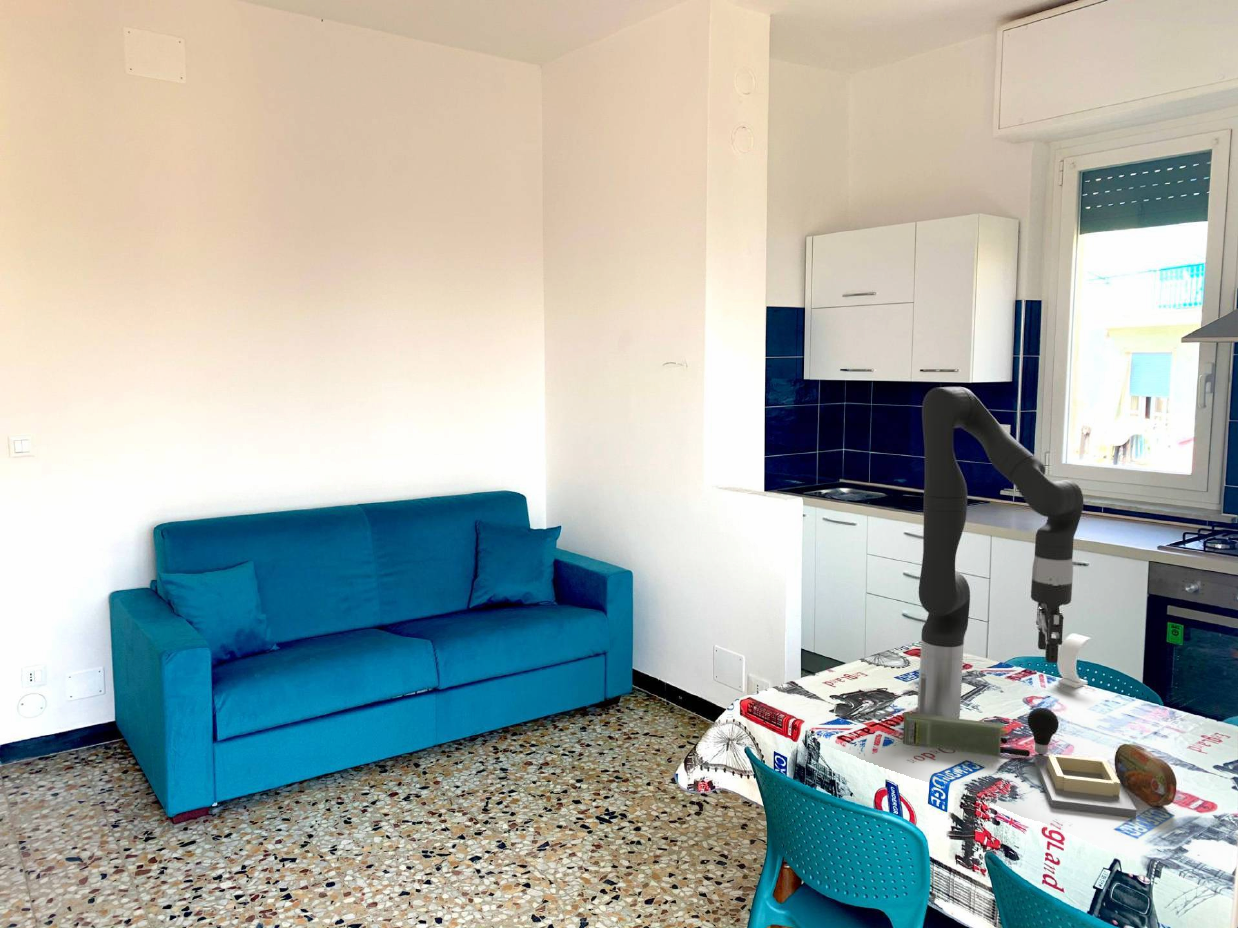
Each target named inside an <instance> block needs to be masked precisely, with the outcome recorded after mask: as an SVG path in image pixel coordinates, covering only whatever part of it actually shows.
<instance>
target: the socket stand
mask: <svg viewBox="0 0 1238 928" xmlns="http://www.w3.org/2000/svg"><path fill="white" fill-rule="evenodd" d="M1033 756H1034V757H1033V763H1034V766H1035V768H1036V771H1037V774H1038V776H1039V779H1040V781H1041V783H1042V785H1043V790H1044V791H1045V794H1046V796H1047V799H1048V801H1049V805H1050V806H1051V809H1060V810H1069V811H1075V812H1076V811H1077V812H1085V813H1086V812H1087V813H1092V814H1093V813H1094V814H1101V815H1110V816H1117V817H1126V818H1137V807H1136V806H1135V804H1134V803H1133V801H1132V799H1131V797H1130V796H1129V794H1128V793H1127V791H1126V789H1125V787H1124V786H1123V785H1122V784H1121V782H1120V780H1119V779H1118V777H1117V774H1116V771H1115V769H1114V768H1113V767H1112V765H1111V763H1110V762H1109V760H1107V759H1106V757H1105V758H1104V757H1096V756H1095V757H1094V756H1088V757H1086V756H1085V757H1084V756H1083V757H1082V756H1075V755H1074V756H1073V755H1065V754H1059V753H1058V754H1057V753H1056V754H1048V755H1039V754H1034V755H1033Z"/></svg>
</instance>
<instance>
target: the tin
mask: <svg viewBox="0 0 1238 928" xmlns="http://www.w3.org/2000/svg"><path fill="white" fill-rule="evenodd" d="M1114 772H1115V773H1116V775H1117V777H1118V779H1119V780H1120V782H1121V784H1122V785H1123V787H1124V789H1125V788H1126V789H1127V790H1129V792H1131V793H1133V794H1134V795H1135V796H1137V797H1138V798H1139V799H1140V800H1142V801H1144V802H1145V803H1146V805H1147V804H1148V805H1150V806H1152V807H1157V806H1159V807H1164V806H1170V805H1171V804H1172V803H1173V802H1174V801H1175V798H1176V793H1177V784H1178V783H1177V777H1176V775H1175V773H1174V771H1173V768H1172V767H1171V766H1170V765H1169V763H1167V762H1166V761H1164V760H1163V759H1161V758H1160V757H1158V756H1157V755H1155V754H1154V753H1152V752H1150V751H1149V750H1147V749H1145V748H1144V747H1142V746H1141V745H1138V744H1137V745H1136V744H1129V743H1128V744H1127V743H1123V744H1121V745H1119V747H1118V748H1117V749H1116V751H1115V754H1114Z"/></svg>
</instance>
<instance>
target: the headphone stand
mask: <svg viewBox="0 0 1238 928" xmlns="http://www.w3.org/2000/svg"><path fill="white" fill-rule="evenodd" d="M1089 642H1090V643H1091V637H1088V636H1086V635H1080V634H1077V633H1071V634H1069V635H1068V636H1066V638H1065V639H1064V641H1062V645H1060V648H1059V649H1058V661H1057V663H1056V664H1057V671H1058V673H1059V674H1060V676H1061V677H1062V678H1059V679H1058V683H1060V684H1063V685H1066V686H1069V687H1070V688H1071V687H1072V688H1075V689H1076V688H1079V687H1083V686H1087V685H1088V680H1086V679H1082V678H1080V677H1079V675H1078V671H1077V661H1078V657H1079V655H1080V652H1081V651H1082V649H1083V648H1084V646H1085V645H1086V644H1088V643H1089Z"/></svg>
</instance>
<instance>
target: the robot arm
mask: <svg viewBox="0 0 1238 928" xmlns="http://www.w3.org/2000/svg"><path fill="white" fill-rule="evenodd" d="M921 407H922V408H921V419H922V421H921V423H922V432H923V434H922V435H923V444H924V445H923V447H924V486H923V487H924V488H923V489H924V490H923V531H922V532H923V533H922V534H923V537H922V538H923V539H922V540H923V541H922V543H923V549H922V550H923V551H922V561H921V569H920V576H919V577H920V578H919V585H918V597H919V602H920V604H921V606H922V608H923V609H924V610H925V611H926V612H927V613H928V614H927V619H926V621H925V622H924V624H923V626H922V629H921V639H920V641H921V643H920V661H919V669H918V686H917V687H918V688H917V690H918V691H917V704H916V705H917V714H924V715H933V716H941V717H949V718H958V719H960V718H959V717H960V716H961V708H962V707H961V704H962V703H961V700H962V685H963V684H962V682H963V666H964V665H963V662H964V647H965V644H964V643H965V642H964V641H965V636H966V632H967V629H968V627H969V618H970V617H969V616H970V605H971V589H970V585H969V582H968V580H967V579H966V578H965V577H964V576H963V575H962V574H961V573H960V572H958V571H956V558H957V557H956V556H957V553H958V552H957V551H958V548H959V545H960V542H961V538H962V535H963V531H964V528H965V524H966V520H967V514H968V488H967V487H968V486H967V483H966V480H965V477H964V475H963V472H962V471H961V468H960V466H959V464H958V461H957V459H956V454H955V451H954V432H955V431H954V430H955V429H959V428H960V429H962V430H964V431H965V432H967V433H969V434H971V436H973V437H974V438H975V439H977V441H978V442H979V443H980V444H981V445H982V448H983V449H984V451H985V453H986V456H987V457H988V460H989V461H990V463H991V464H992V466H993V467H994V468H995V469H996V470H997V471H998V472H999V473H1000V474H1001V475H1003V476H1004V478H1006V479H1007V480H1008V481H1009V482H1011V483H1012V485H1014V486H1015V487H1016V488H1017V490H1018V492H1019V494H1020V496H1022V498H1023V499H1024V500H1025V502H1026V504H1027V505H1028V506H1029V508H1031V509H1032V510H1033V511H1034V512H1035V513H1037V514H1039V515H1040V516H1042V517H1047V520H1046V522H1045V524H1044V525H1043V526H1041V527H1039V528H1038V529H1037V531H1036V532H1035V533H1036V534H1035V543H1034V557H1033V562H1032V569H1031V570H1032V571H1031V586H1030V588H1031V589H1030V598H1031V600H1032V601H1034V602H1035V603H1037V609H1036V621H1035V624H1036V626H1037V630H1038V635H1037V636H1038V637H1037V638H1038V639H1037V648H1038V650H1041V651H1042V650H1043V651H1045V655H1044V656H1045V657H1044V660H1045V662H1046V663H1049V664H1058V663H1057V661H1058V654H1059V646H1061V645H1062V643H1063V634H1064V633H1063V631H1064V630H1063V629H1064V615H1063V613H1062V612H1061V610H1060V606H1067V605H1069V604H1071V602H1072V594H1073V593H1072V592H1073V581H1074V580H1073V579H1074V578H1073V577H1074V563H1073V560H1074V559H1073V553H1074V537H1075V535H1076V532H1077V530H1078V526H1079V524H1080V520H1081V518H1082V514H1083V508H1084V495H1083V492H1082V489H1081V487H1080V485H1078V484H1077V483H1076V482H1074V481H1073V480H1069V479H1067V480H1066V479H1061V480H1054V481H1051V480H1050V479H1048V477H1046V476H1045V474H1046V467H1045V465H1044V463H1043V462H1042V461H1041V460H1040V459H1039V458H1037V456H1035V455H1034V454H1033V453H1031V452H1030V450H1028V449H1027V448H1026V447H1024V446H1023V444H1021V443H1020V442H1018V440H1016V439H1015V438H1014V437H1013V436H1012V435H1011V434H1010V433H1009V432H1008V431H1007V430H1006V429H1005V428H1004V427H1003V426H1002V424H1000V423H999V422H998V421H997V419H996V417H994V416H993V415H992V414H991V412H990V411H989V410H988V408H986V406H985V405H984V404H983V403H982V401H981V400H980V399H979V398H978V396H976V395H975V394H974V393H973V392H972V391H971V390H970V389H968V388H966V387H962V386H944V387H943V386H942V387H934V388H931V389H930V390H929V391H928V392H927V393H926V395H925V396H924V398H923V401H922V406H921ZM1052 635H1055V637H1052Z"/></svg>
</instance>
